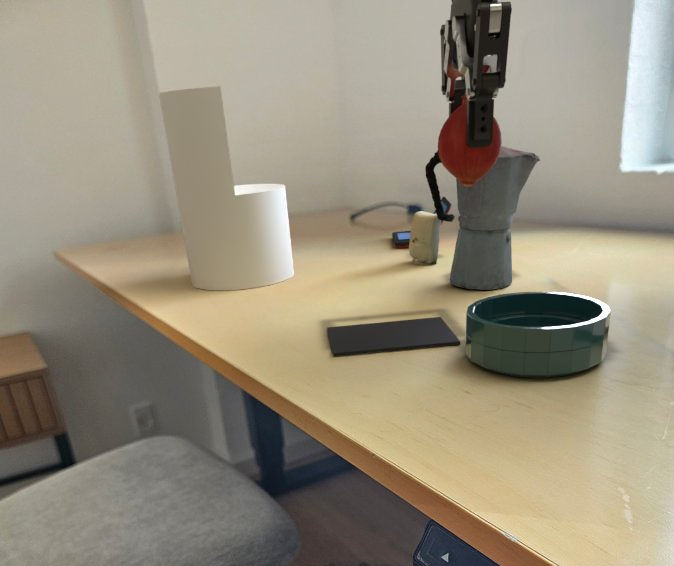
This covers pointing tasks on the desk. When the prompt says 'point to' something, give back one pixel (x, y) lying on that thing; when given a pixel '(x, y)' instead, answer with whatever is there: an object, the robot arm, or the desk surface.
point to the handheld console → (403, 237)
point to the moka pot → (485, 220)
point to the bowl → (537, 333)
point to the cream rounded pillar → (424, 238)
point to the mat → (390, 336)
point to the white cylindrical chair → (222, 200)
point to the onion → (466, 148)
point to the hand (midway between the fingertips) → (469, 145)
